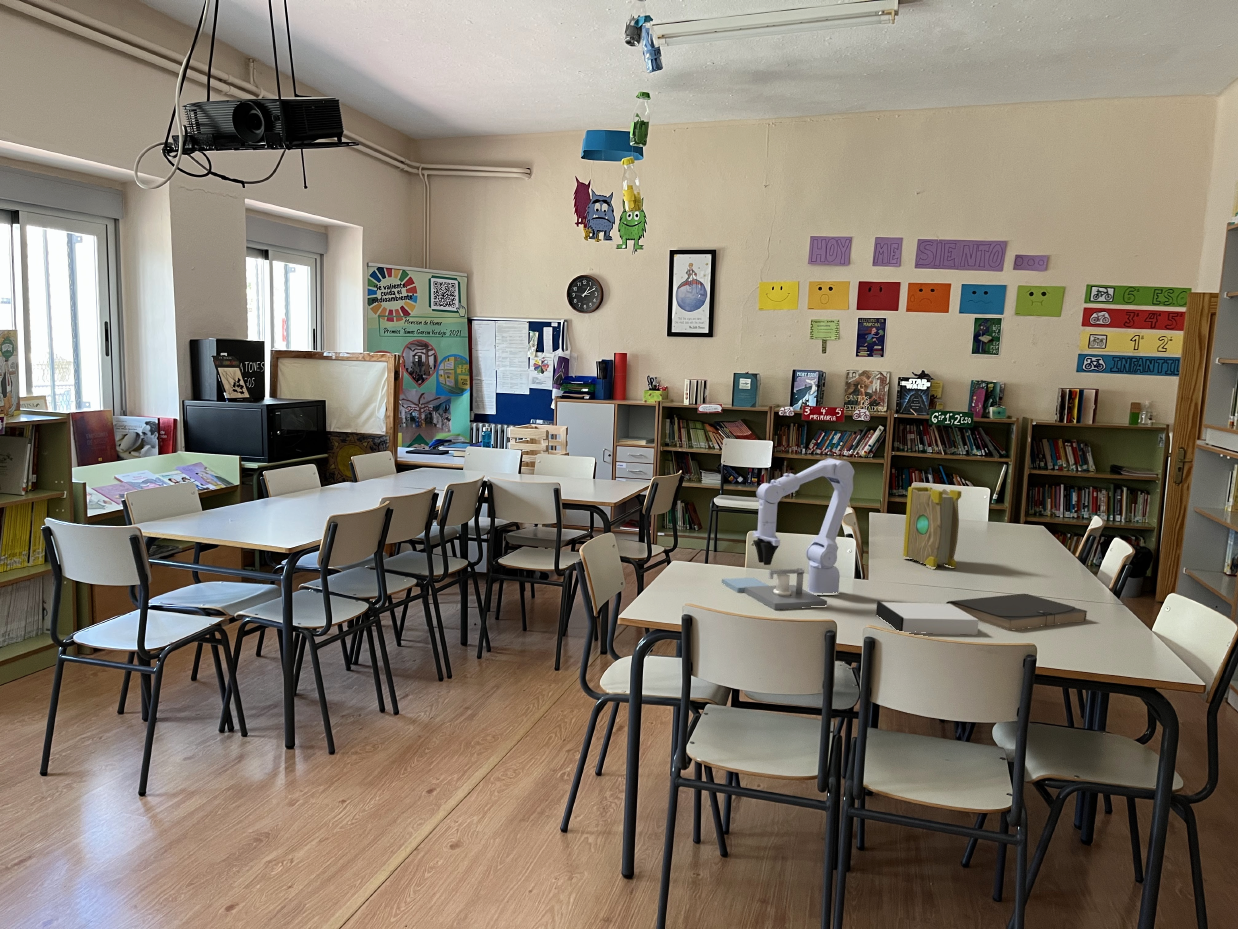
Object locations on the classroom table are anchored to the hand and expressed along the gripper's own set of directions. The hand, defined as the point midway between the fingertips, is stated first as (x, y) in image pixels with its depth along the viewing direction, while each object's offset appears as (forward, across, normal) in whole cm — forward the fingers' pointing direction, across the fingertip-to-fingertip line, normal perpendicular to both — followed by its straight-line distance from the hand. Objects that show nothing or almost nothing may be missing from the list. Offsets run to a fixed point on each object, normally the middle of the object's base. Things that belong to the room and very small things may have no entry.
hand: (764, 563), depth 267 cm
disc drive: (+11, +38, +32) cm, 51 cm away
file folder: (+11, +34, +68) cm, 77 cm away
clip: (+3, +6, +5) cm, 8 cm away
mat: (+10, -11, 0) cm, 15 cm away
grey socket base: (+10, +6, +4) cm, 13 cm away
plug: (+10, +6, +4) cm, 13 cm away
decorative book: (+11, -33, +90) cm, 96 cm away
